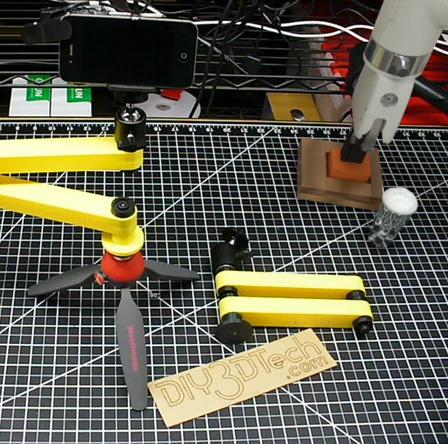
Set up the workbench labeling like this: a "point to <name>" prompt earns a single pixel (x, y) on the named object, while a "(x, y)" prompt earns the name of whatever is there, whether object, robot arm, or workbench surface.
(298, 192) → the wooden tray
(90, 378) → the workbench surface
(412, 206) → the milkshake
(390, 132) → the robot arm
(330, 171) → the orange block
